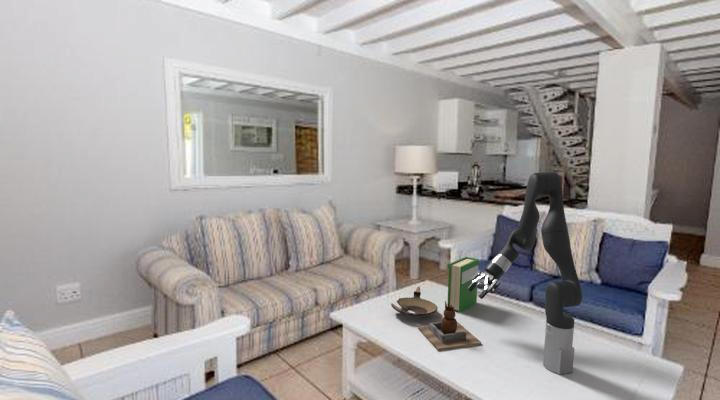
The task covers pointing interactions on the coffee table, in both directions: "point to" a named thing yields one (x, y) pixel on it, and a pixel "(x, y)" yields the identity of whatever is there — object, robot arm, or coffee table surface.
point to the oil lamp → (415, 305)
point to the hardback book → (462, 283)
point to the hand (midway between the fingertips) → (474, 294)
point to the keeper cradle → (448, 337)
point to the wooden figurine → (448, 320)
